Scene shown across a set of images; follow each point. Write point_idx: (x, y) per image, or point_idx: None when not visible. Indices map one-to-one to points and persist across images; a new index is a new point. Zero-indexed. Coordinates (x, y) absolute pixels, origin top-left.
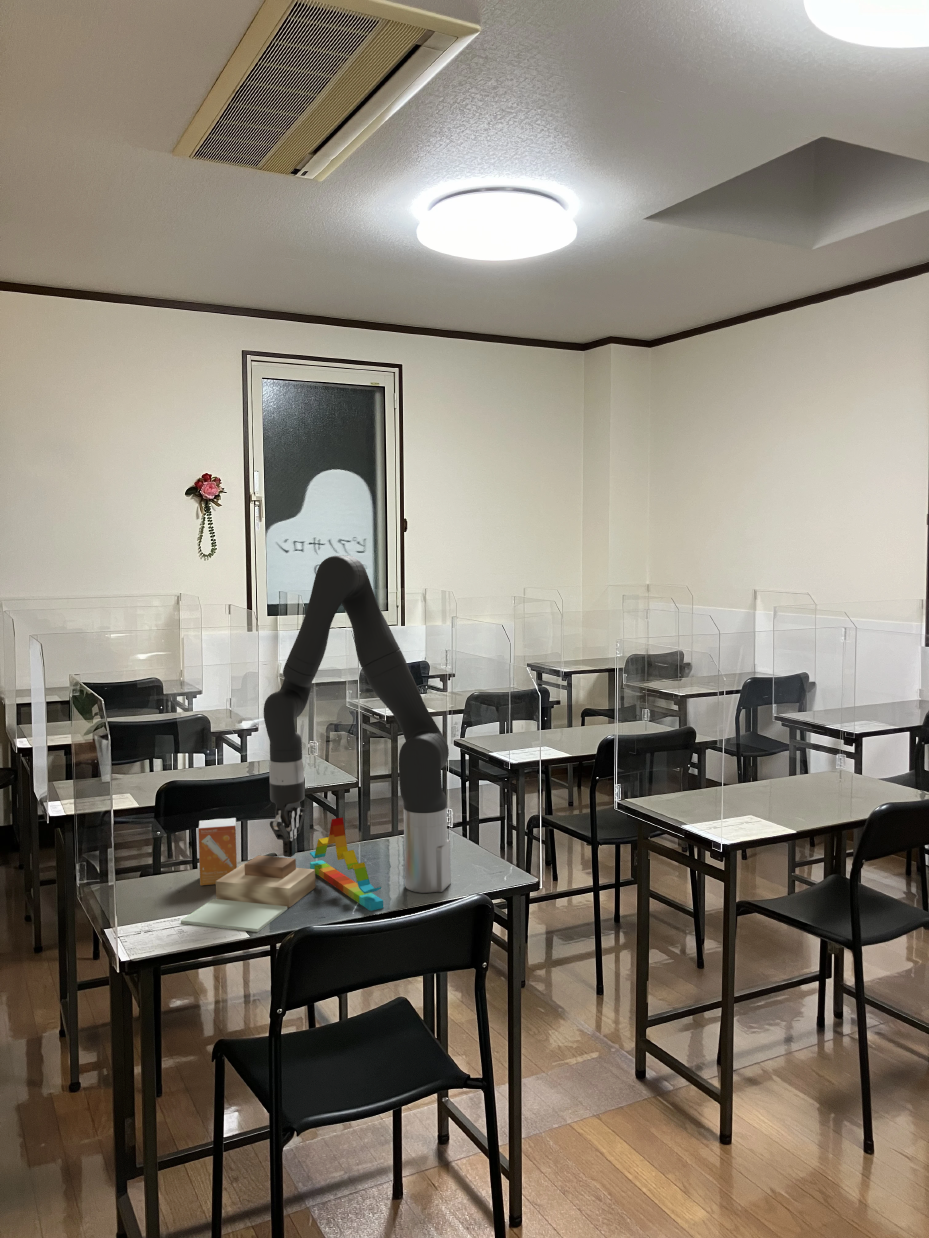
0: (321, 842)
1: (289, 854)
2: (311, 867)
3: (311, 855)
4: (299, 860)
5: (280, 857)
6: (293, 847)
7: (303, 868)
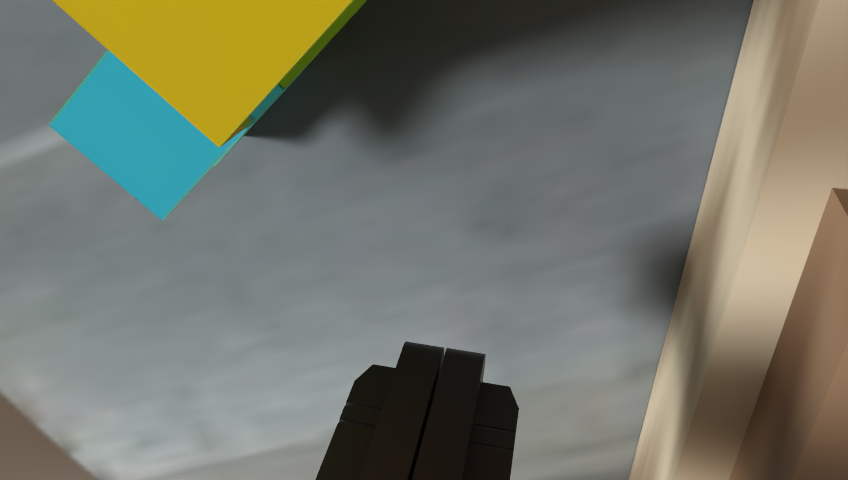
0: (324, 32)
1: (509, 392)
2: (252, 125)
3: (202, 177)
4: (75, 291)
5: (811, 465)
6: (424, 413)
7: (795, 99)
